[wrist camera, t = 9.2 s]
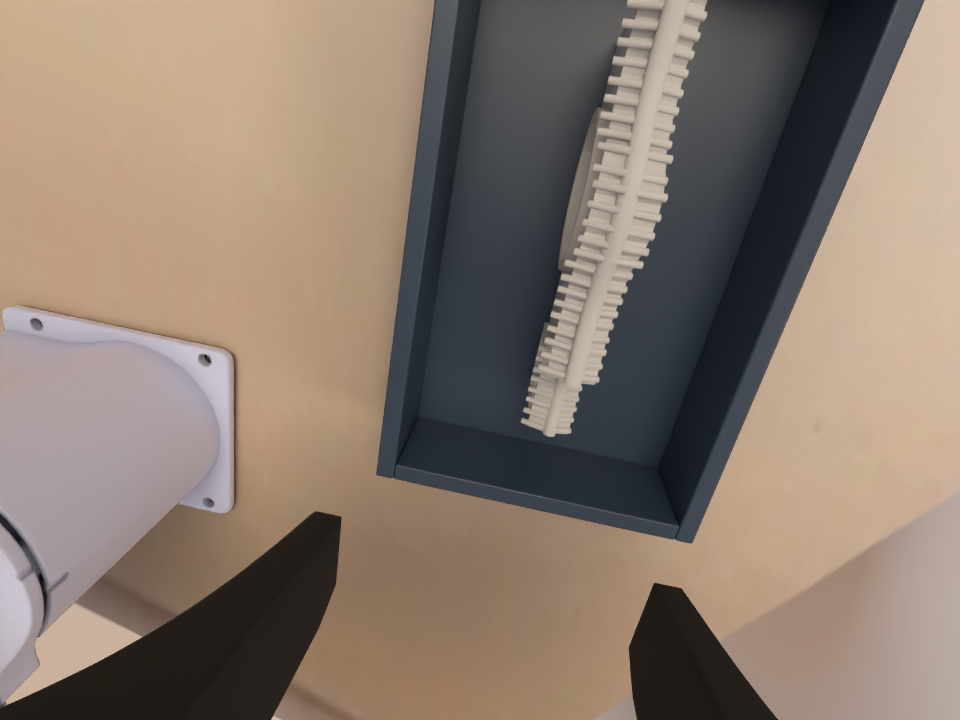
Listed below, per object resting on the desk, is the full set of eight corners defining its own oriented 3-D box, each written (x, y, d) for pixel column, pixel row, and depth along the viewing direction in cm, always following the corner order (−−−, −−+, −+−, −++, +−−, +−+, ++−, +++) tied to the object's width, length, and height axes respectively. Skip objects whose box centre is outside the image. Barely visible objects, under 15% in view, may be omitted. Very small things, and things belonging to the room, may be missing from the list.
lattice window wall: (568, 399, 20) (578, 494, 14) (521, 389, 20) (514, 480, 14) (668, 35, 15) (740, -31, 10) (606, 24, 15) (644, -50, 10)
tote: (404, 419, 21) (375, 475, 18) (478, -104, 15) (457, -190, 11) (666, 475, 21) (692, 545, 17) (859, -36, 14) (969, -101, 11)
